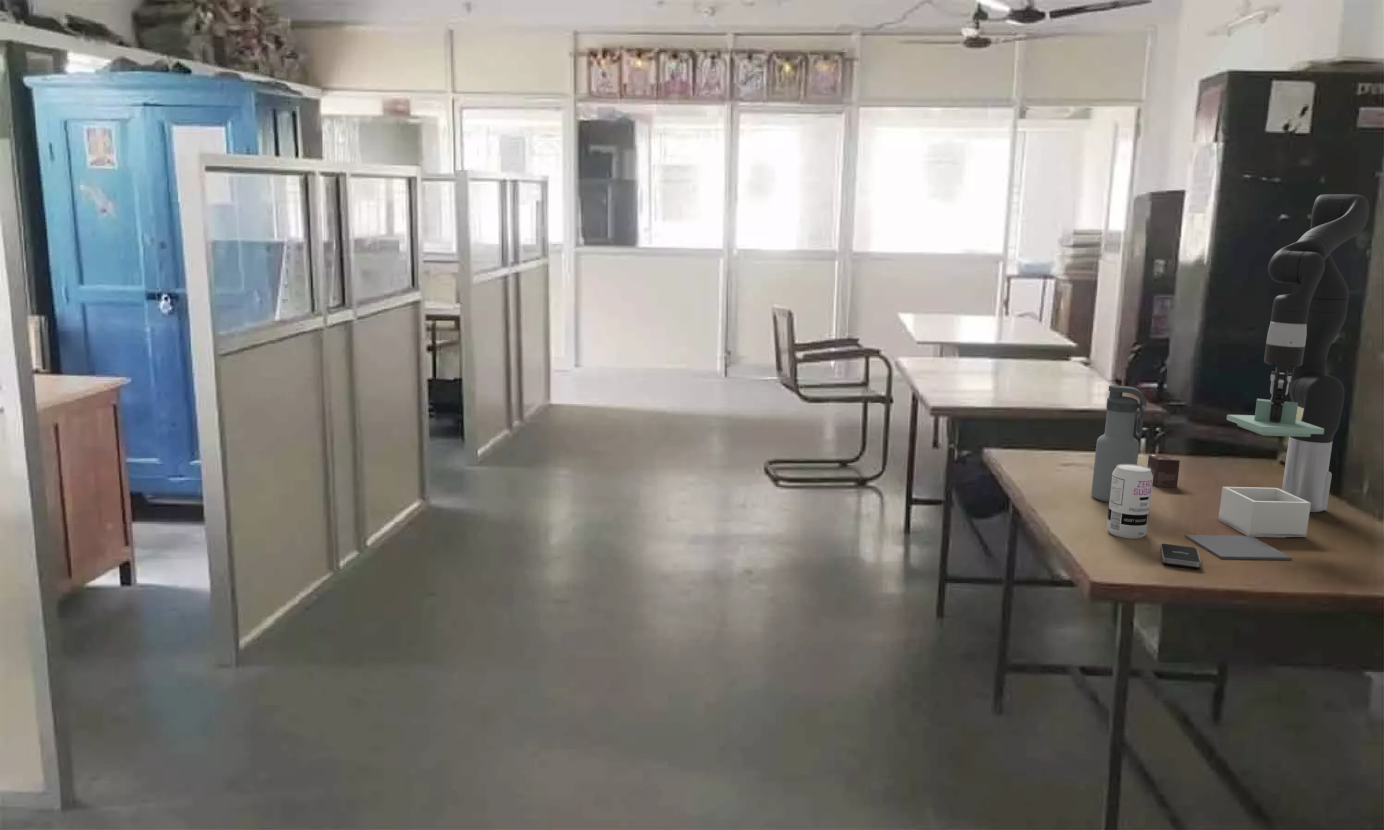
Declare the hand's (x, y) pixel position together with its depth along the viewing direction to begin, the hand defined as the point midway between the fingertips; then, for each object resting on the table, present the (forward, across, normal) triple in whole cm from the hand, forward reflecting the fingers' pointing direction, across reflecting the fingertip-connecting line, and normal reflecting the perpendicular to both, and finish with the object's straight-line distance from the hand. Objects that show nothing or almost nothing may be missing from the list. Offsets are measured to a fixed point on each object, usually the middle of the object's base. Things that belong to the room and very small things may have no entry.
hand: (1274, 420), depth 242 cm
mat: (+25, -19, +4) cm, 32 cm away
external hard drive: (+26, -36, +14) cm, 46 cm away
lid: (+2, 0, 0) cm, 2 cm away
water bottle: (+26, +9, +32) cm, 42 cm away
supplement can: (+26, -22, +26) cm, 42 cm away
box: (+26, +33, +23) cm, 48 cm away
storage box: (+25, +1, 0) cm, 25 cm away
